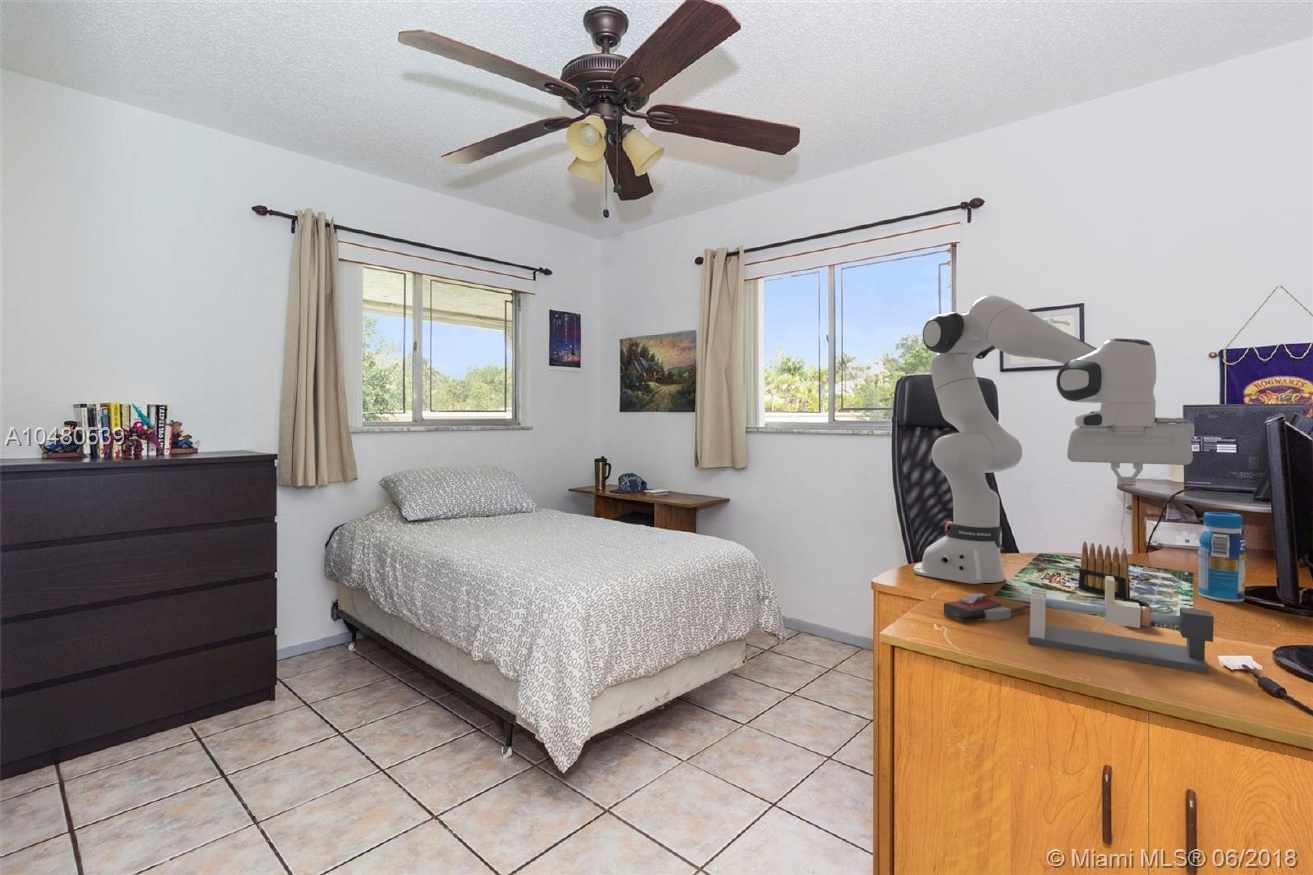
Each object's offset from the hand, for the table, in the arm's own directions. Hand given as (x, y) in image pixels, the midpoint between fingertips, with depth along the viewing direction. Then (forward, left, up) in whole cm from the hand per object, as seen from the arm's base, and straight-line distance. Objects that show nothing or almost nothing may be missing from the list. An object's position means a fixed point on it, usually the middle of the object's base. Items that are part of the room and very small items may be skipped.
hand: (1126, 485), depth 125 cm
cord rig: (-3, -16, -29) cm, 33 cm away
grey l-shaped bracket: (-1, -16, -24) cm, 29 cm away
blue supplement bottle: (+21, +37, -29) cm, 52 cm away
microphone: (+4, +10, -30) cm, 31 cm away
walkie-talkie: (-25, -5, -30) cm, 39 cm away
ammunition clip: (-2, +27, -29) cm, 40 cm away
